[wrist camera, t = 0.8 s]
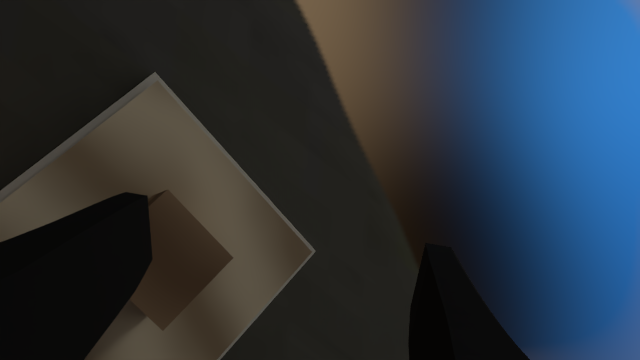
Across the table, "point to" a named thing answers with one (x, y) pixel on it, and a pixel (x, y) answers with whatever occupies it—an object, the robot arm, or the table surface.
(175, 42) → the table surface
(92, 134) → the lid
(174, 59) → the table surface
